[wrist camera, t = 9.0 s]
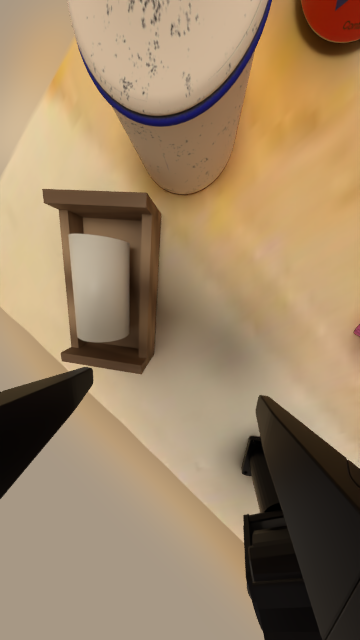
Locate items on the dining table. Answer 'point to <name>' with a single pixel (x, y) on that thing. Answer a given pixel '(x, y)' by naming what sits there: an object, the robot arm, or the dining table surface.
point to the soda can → (333, 19)
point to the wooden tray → (144, 238)
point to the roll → (100, 287)
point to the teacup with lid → (173, 77)
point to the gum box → (357, 331)
